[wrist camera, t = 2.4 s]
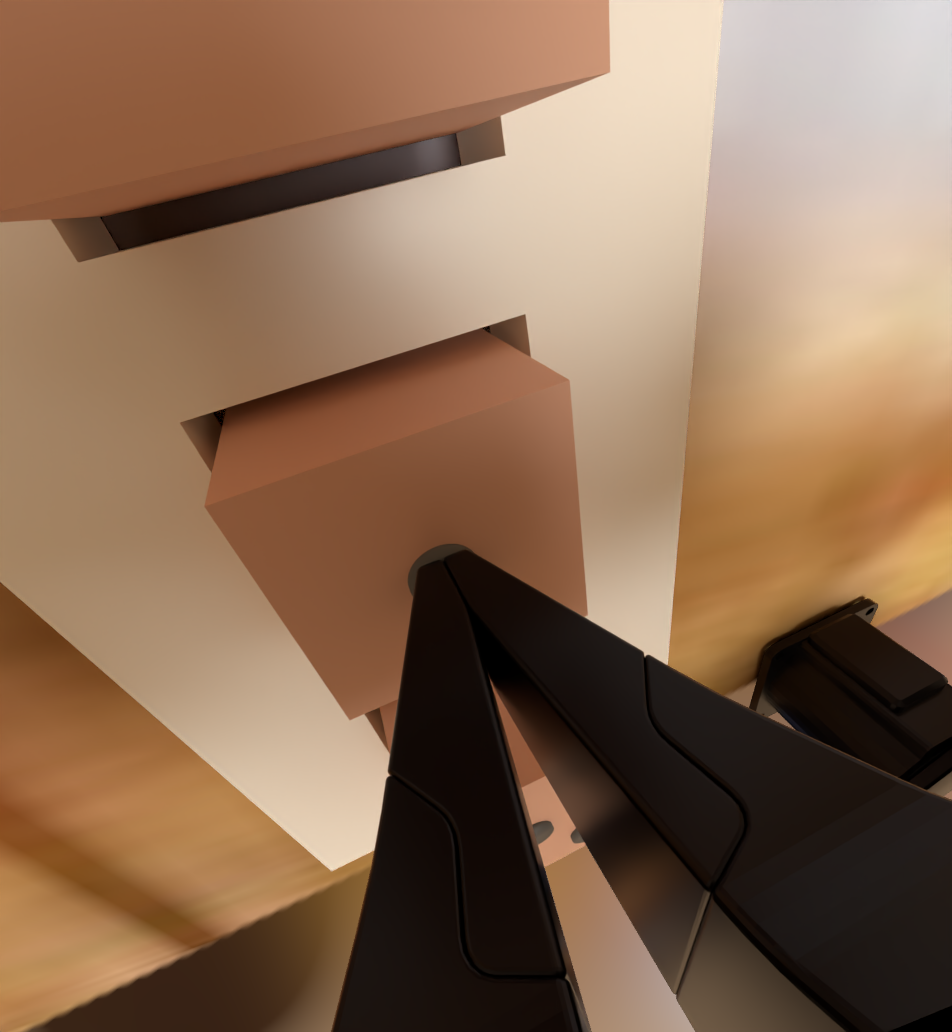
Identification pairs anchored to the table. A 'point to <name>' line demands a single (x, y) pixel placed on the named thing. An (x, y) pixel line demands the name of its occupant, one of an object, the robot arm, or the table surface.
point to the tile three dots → (525, 790)
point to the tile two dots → (258, 88)
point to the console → (339, 347)
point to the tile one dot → (398, 496)
